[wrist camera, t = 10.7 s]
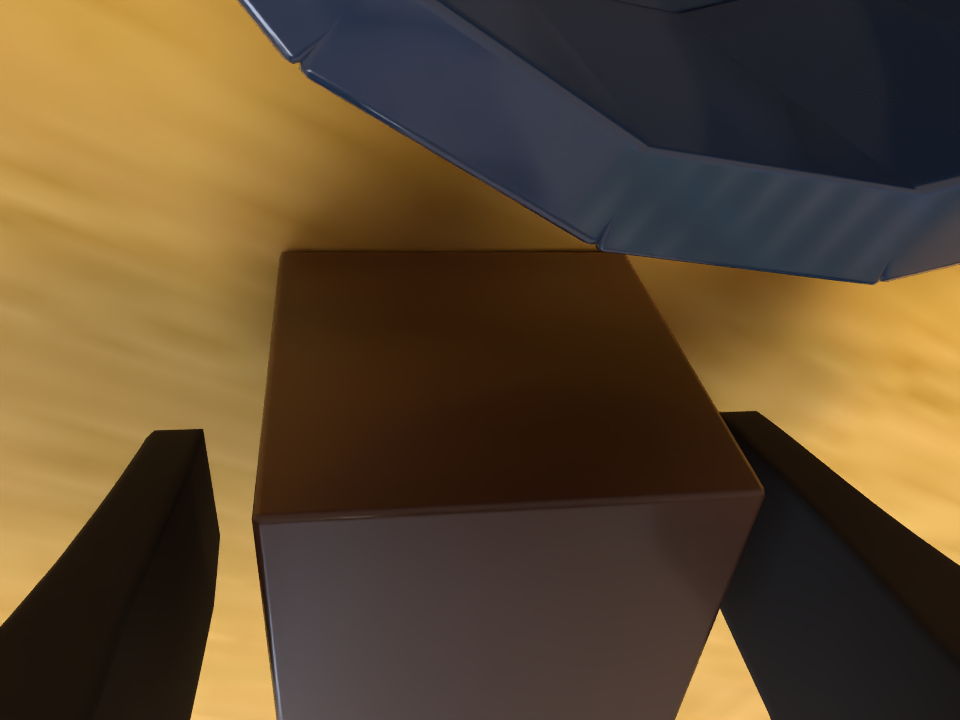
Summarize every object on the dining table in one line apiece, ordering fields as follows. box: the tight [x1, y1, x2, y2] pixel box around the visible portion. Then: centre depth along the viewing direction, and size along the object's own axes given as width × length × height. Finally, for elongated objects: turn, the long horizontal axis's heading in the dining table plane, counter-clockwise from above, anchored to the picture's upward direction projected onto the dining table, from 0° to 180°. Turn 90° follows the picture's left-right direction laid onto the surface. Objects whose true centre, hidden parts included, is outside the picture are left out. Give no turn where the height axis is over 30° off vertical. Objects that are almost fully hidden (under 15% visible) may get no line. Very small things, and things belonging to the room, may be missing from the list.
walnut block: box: [252, 252, 765, 720], centre depth 11 cm, size 5×5×5 cm
